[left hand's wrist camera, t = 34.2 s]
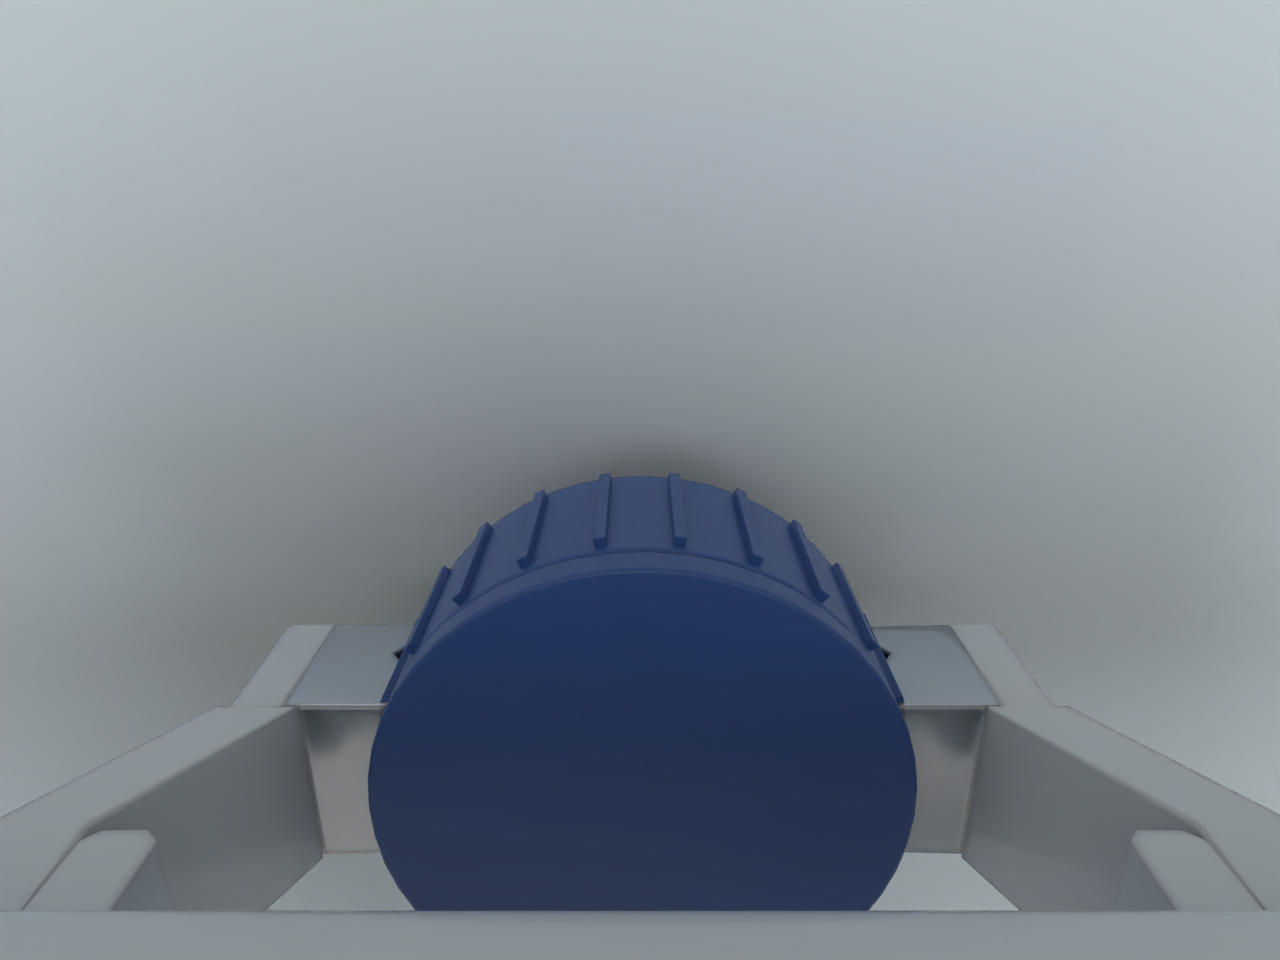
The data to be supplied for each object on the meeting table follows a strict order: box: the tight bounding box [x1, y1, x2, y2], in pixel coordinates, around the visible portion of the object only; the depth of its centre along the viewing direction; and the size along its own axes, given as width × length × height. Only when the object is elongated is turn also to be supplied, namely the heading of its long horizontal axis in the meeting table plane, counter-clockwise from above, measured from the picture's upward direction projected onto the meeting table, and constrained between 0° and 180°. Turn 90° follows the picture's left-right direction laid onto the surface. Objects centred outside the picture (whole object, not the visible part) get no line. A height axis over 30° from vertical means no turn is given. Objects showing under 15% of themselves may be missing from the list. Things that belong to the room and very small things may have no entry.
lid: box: [368, 473, 917, 911], centre depth 9 cm, size 5×5×2 cm
